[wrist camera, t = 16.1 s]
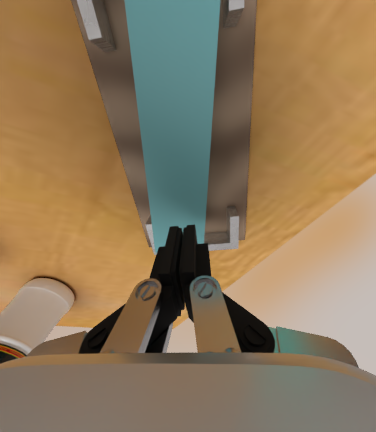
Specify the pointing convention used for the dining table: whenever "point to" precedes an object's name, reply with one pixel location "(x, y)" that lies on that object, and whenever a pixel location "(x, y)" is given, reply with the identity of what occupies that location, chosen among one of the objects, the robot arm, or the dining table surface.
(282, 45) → the dining table surface
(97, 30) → the end caps
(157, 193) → the slat
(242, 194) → the base board
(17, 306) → the vodka
